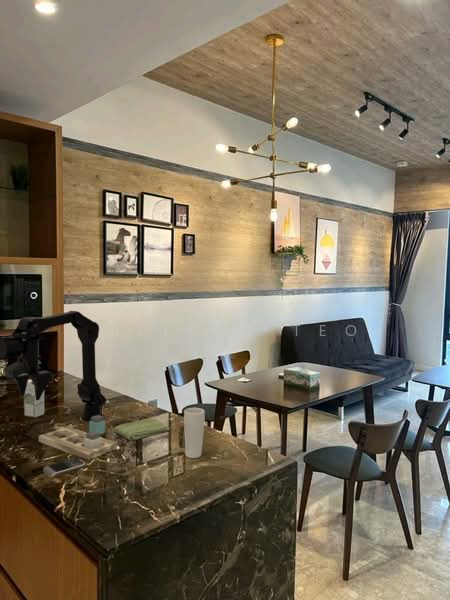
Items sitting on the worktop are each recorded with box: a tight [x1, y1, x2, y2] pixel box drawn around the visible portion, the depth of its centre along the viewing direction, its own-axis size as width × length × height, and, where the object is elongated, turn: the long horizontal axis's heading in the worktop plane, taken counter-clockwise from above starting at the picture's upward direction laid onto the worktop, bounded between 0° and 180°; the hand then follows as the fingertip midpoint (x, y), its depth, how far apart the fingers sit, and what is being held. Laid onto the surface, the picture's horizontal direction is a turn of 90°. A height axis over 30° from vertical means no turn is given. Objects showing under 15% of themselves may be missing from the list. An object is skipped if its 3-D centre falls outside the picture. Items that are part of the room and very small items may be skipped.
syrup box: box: [23, 378, 45, 418], centre depth 184 cm, size 6×6×14 cm
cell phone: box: [42, 457, 86, 478], centre depth 136 cm, size 6×11×1 cm, turn 134°
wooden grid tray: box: [38, 426, 118, 461], centre depth 154 cm, size 12×26×2 cm, turn 56°
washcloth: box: [114, 418, 170, 442], centre depth 169 cm, size 13×18×3 cm
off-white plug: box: [84, 431, 103, 450], centre depth 149 cm, size 4×4×6 cm
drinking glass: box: [183, 407, 206, 459], centre depth 147 cm, size 7×7×15 cm
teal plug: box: [88, 415, 106, 435], centre depth 166 cm, size 4×4×6 cm
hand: (29, 397), depth 158 cm, fingers open, 9 cm apart
